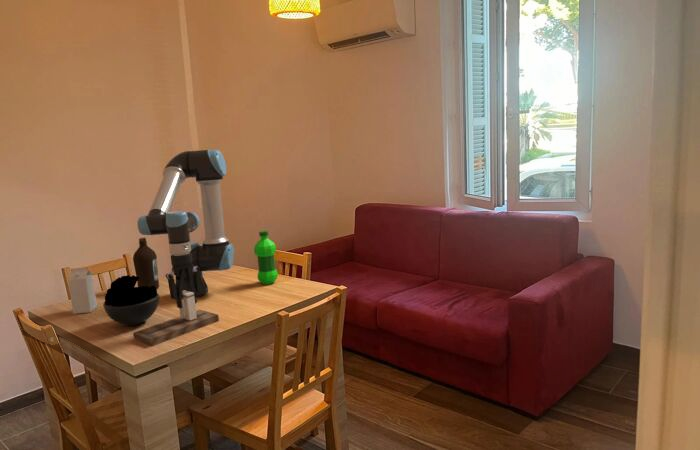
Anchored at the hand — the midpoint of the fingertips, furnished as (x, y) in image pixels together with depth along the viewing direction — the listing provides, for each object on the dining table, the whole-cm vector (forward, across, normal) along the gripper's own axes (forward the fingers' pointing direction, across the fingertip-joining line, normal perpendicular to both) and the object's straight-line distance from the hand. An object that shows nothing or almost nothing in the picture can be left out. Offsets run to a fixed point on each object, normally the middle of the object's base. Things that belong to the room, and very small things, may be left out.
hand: (188, 313), depth 194 cm
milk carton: (+5, -13, +58) cm, 60 cm away
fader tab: (+2, 0, 0) cm, 2 cm away
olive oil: (+5, +20, +64) cm, 67 cm away
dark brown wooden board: (+5, -5, 0) cm, 7 cm away
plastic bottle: (+5, +55, +17) cm, 58 cm away
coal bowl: (+5, -10, +22) cm, 25 cm away
